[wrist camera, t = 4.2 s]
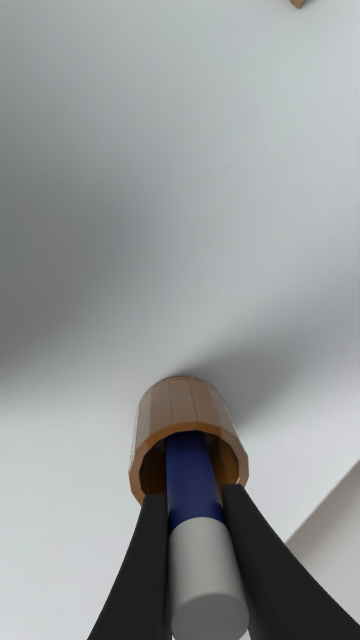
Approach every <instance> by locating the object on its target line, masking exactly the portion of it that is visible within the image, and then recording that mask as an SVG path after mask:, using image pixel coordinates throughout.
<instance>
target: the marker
mask: <svg viewBox="0 0 360 640" xmlns="http://www.w3.org/2000/svg"><path fill="white" fill-rule="evenodd" d="M165 444H166V472H167V499H168V526H169V540H168V578H169V611H170V629H171V633H172V635H173V637H174V638H175V640H239V639H240V638H241V637H242V636H243V635H244V634H245V632H246V631H247V629H248V626H249V623H250V610H249V606H248V602H247V598H246V594H245V590H244V586H243V582H242V578H241V574H240V570H239V566H238V562H237V558H236V554H235V550H234V546H233V543H232V539H231V535H230V532H229V530H228V529H227V525H226V521H225V517H224V512H223V508H222V504H221V500H220V496H219V492H218V488H217V484H216V479H215V475H214V471H213V467H212V463H211V459H210V455H209V451H208V447H207V442H206V438H205V434H204V432H203V431H199V430H191V431H182V432H175V433H173V434H171V435H169V436H167V437H165Z"/></svg>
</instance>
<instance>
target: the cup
mask: <svg viewBox="0 0 360 640" xmlns="http://www.w3.org/2000/svg"><path fill="white" fill-rule="evenodd" d="M191 430H199V431H203V432H204V434H205V438H206V442H207V447H208V451H209V455H210V459H211V463H212V467H213V471H214V475H215V479H216V484H217V488H218V492H219V496H220V500H221V504H222V491H221V485H229V484H237V483H240V484H241V485H242V486H243V487H245V485H246V483H247V480H248V477H249V465H248V455H247V453H246V451H245V448H244V446H243V444H242V441H241V439H240V437H239V434H238V432H237V430H236V427H235V425H234V423H233V420H232V418H231V416H230V413H229V411H228V409H227V407H226V405H225V403H224V401H223V399H222V397H221V395H220V394H219V392H218V391H217V390H216V389H215V388H214V387H213V386H212V385H210V384H209V383H207V382H205V381H203V380H201V379H198V378H195V377H190V376H177V377H171V378H168V379H165V380H163V381H160V382H159V383H157V384H155V385H154V386H153V387H151V388H150V389H149V390H148V391H147V392H146V393H145V395H144V396H143V397H142V399H141V401H140V403H139V405H138V408H137V412H136V417H135V422H134V430H133V438H132V446H131V455H130V463H129V471H128V474H129V481H130V487H131V492H132V494H133V495H134V497H135V498H136V500H137V501H138V502H139V504H140V505H141V507H142V503H143V498H144V497H145V496H146V495H151V494H159V493H165V496H166V505H167V514H168V499H167V472H166V444H165V437H167V436H169V435H171V434H173V433H175V432H182V431H191ZM222 508H223V507H222Z"/></svg>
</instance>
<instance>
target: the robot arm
mask: <svg viewBox="0 0 360 640" xmlns="http://www.w3.org/2000/svg"><path fill="white" fill-rule="evenodd" d="M221 491H222V507H223V512H224V517H225V521H226V525H227V529H228V530H229V532H230V535H231V539H232V543H233V546H234V550H235V554H236V558H237V562H238V566H239V570H240V574H241V578H242V582H243V586H244V590H245V594H246V598H247V602H248V606H249V610H250V623H249V626H248V631H249V634H250V638H251V640H360V625H359V624H358V623H357V622H356V621H355V620H354V619H353V618H352V617H351V616H350V615H349V614H348V613H347V612H346V611H345V610H344V609H343V608H342V607H341V606H340V605H339V604H338V603H337V602H336V601H335V600H334V599H333V598H332V597H331V596H330V595H329V594H328V593H327V592H326V591H325V590H324V589H323V588H322V587H321V586H320V585H319V583H318V582H317V581H316V580H315V579H314V578H313V577H312V576H311V575H310V574H309V572H308V571H307V570H306V569H305V568H304V567H303V566H302V564H301V563H300V562H299V561H298V560H297V559H296V557H295V556H294V555H293V554H292V553H291V551H290V550H289V549H288V548H287V547H286V545H285V544H284V543H283V542H282V540H281V539H280V538H279V537H278V535H277V534H276V533H275V531H274V530H273V529H272V528H271V526H270V525H269V524H268V522H267V521H266V520H265V518H264V517H263V515H262V514H261V513H260V511H259V510H258V508H257V507H256V506H255V504H254V503H253V501H252V500H251V498H250V497H249V495H248V493H247V492H246V490H245V489H244V487H243V486H242V485H241V484H240V483H237V484H229V485H221ZM168 540H169V526H168V514H167V505H166V496H165V493H159V494H151V495H146V496H145V497H144V498H143V503H142V507H141V511H140V515H139V518H138V521H137V525H136V528H135V531H134V534H133V537H132V539H131V542H130V545H129V547H128V550H127V553H126V555H125V558H124V561H123V563H122V566H121V568H120V571H119V573H118V575H117V577H116V580H115V582H114V584H113V587H112V589H111V591H110V594H109V596H108V598H107V600H106V602H105V605H104V607H103V609H102V611H101V613H100V615H99V617H98V619H97V621H96V623H95V625H94V627H93V629H92V631H91V633H90V635H89V637H88V639H87V640H172V633H171V629H170V611H169V578H168Z"/></svg>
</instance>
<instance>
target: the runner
mask: <svg viewBox="0 0 360 640" xmlns="http://www.w3.org/2000/svg"><path fill="white" fill-rule="evenodd" d="M290 1H291V2H292V3H293V4H294V5H295V6H296V7H297V8H298V9H299V8H300V7H301V5H302V4H303V2H304V1H305V0H290Z"/></svg>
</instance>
